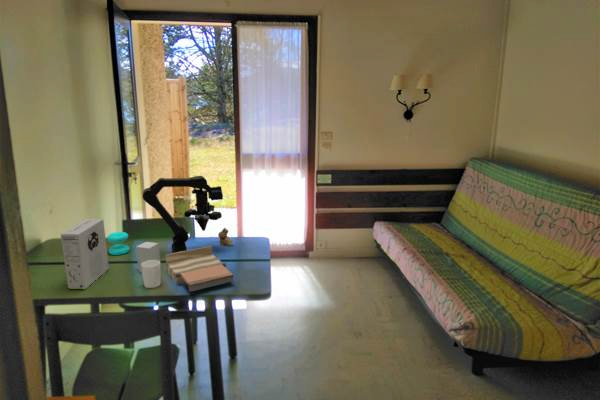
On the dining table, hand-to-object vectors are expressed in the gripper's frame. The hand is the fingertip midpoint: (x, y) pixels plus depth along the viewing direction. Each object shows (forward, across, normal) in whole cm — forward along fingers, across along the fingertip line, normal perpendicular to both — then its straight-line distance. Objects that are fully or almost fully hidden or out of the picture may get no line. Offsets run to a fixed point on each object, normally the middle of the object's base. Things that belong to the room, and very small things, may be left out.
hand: (203, 230), depth 221 cm
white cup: (+12, +1, +41) cm, 43 cm away
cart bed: (+12, -9, +24) cm, 28 cm away
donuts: (+12, +42, +15) cm, 46 cm away
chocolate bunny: (+12, -4, -14) cm, 19 cm away
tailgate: (+8, -16, +29) cm, 34 cm away
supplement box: (+12, +13, +28) cm, 33 cm away
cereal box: (+12, +31, +46) cm, 57 cm away
